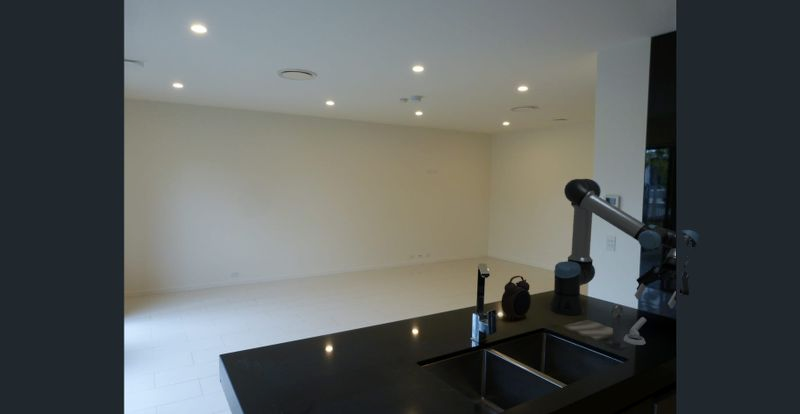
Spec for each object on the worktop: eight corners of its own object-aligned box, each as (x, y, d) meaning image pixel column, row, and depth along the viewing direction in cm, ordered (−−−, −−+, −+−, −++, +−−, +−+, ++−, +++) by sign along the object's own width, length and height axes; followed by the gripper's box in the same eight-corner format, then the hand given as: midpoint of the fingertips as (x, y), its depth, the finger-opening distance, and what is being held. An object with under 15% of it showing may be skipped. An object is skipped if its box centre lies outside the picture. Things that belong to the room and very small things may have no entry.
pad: (563, 327, 177) (563, 325, 177) (588, 321, 184) (588, 319, 184) (595, 340, 162) (595, 338, 162) (621, 333, 169) (621, 331, 169)
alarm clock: (512, 324, 181) (512, 280, 180) (499, 319, 187) (500, 276, 186) (533, 318, 189) (534, 275, 188) (521, 313, 195) (521, 272, 194)
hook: (663, 332, 157) (651, 323, 156) (641, 354, 160) (630, 346, 158) (649, 321, 165) (638, 313, 163) (629, 343, 167) (618, 335, 165)
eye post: (605, 344, 159) (606, 304, 158) (613, 341, 161) (614, 302, 160) (619, 349, 154) (620, 308, 152) (627, 347, 156) (629, 306, 155)
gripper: (712, 273, 161) (689, 316, 156) (650, 262, 183) (627, 299, 178) (705, 261, 158) (681, 304, 153) (643, 251, 181) (620, 288, 175)
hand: (652, 301), depth 165 cm, fingers open, 13 cm apart
